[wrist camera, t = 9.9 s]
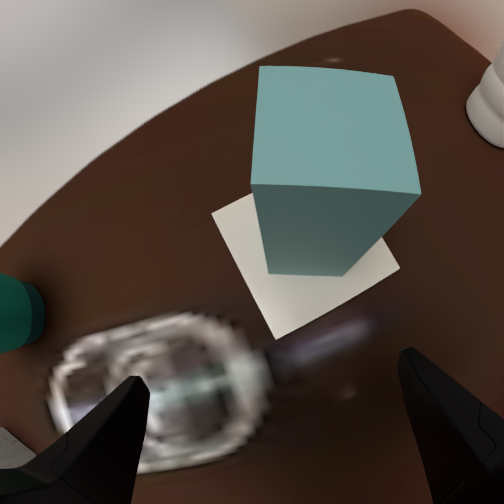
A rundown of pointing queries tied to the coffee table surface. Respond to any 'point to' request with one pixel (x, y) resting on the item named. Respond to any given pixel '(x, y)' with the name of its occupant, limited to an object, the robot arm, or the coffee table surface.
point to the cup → (19, 313)
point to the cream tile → (293, 286)
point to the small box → (13, 451)
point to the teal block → (328, 166)
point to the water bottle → (489, 102)
